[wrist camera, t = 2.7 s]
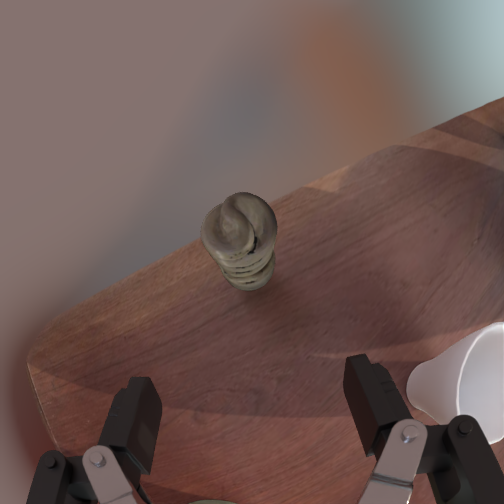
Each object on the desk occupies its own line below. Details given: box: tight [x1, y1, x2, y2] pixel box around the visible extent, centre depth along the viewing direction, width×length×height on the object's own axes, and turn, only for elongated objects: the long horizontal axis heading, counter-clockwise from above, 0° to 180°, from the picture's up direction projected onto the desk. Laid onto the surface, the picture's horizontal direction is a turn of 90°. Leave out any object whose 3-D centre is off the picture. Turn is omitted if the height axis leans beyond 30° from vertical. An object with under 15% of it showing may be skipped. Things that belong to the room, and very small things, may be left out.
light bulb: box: [201, 192, 277, 291], centre depth 27 cm, size 6×6×15 cm
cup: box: [406, 322, 504, 444], centre depth 22 cm, size 10×10×14 cm
